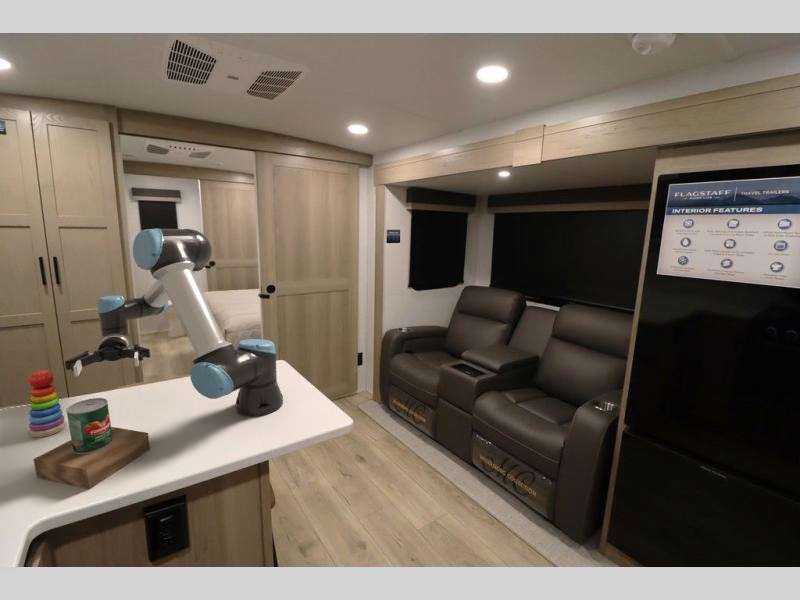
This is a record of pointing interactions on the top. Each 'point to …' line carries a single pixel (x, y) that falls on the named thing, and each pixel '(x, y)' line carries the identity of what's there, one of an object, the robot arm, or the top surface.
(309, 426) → the top surface
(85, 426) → the canned tomato
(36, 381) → the stacking toy
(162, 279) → the robot arm
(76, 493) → the top surface
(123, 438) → the block
